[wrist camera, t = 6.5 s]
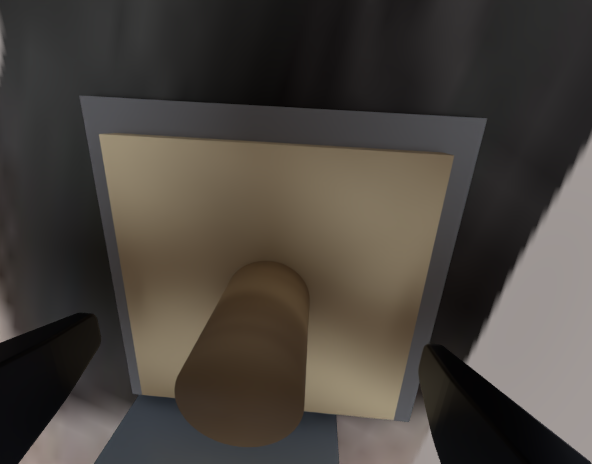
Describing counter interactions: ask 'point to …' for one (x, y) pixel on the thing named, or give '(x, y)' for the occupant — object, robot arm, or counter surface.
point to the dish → (211, 440)
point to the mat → (296, 130)
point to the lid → (272, 275)
